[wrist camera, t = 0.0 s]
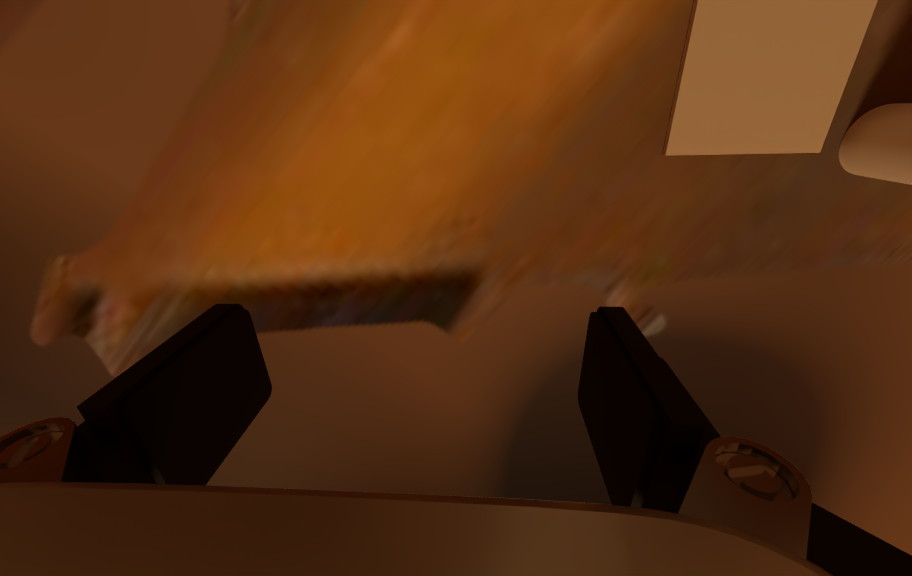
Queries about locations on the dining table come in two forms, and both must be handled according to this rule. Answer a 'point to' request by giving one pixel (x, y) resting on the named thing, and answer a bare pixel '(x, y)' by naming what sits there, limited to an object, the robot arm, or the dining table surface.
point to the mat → (763, 74)
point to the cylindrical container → (880, 144)
